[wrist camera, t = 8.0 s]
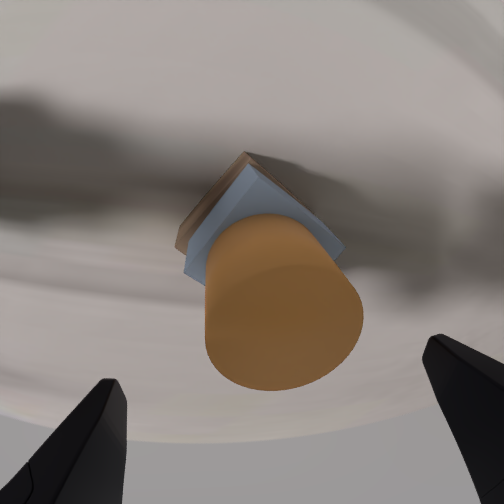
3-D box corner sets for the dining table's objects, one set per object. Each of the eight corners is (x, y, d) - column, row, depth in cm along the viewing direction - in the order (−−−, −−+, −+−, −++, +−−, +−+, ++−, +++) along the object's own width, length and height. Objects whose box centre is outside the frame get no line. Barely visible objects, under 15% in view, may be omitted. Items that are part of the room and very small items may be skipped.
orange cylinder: (265, 334, 15) (284, 406, 11) (181, 276, 13) (172, 348, 9) (342, 262, 14) (389, 321, 10) (263, 187, 12) (290, 228, 8)
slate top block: (262, 288, 18) (273, 326, 15) (188, 240, 16) (183, 272, 13) (321, 221, 17) (346, 247, 13) (248, 163, 15) (258, 176, 12)
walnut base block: (250, 277, 22) (258, 306, 18) (180, 224, 19) (174, 247, 16) (312, 213, 20) (331, 232, 17) (243, 150, 18) (250, 158, 15)
